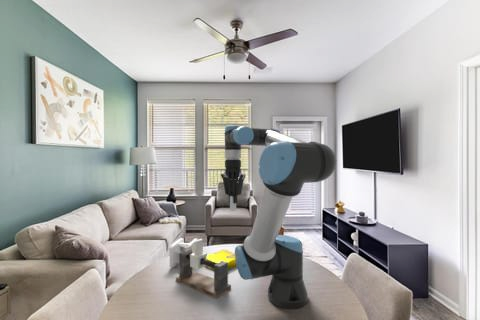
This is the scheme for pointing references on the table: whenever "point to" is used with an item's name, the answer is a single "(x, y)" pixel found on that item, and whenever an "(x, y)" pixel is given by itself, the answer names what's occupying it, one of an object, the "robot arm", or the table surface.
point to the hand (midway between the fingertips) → (233, 210)
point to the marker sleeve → (198, 255)
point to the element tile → (222, 258)
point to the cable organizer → (178, 251)
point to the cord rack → (200, 281)
